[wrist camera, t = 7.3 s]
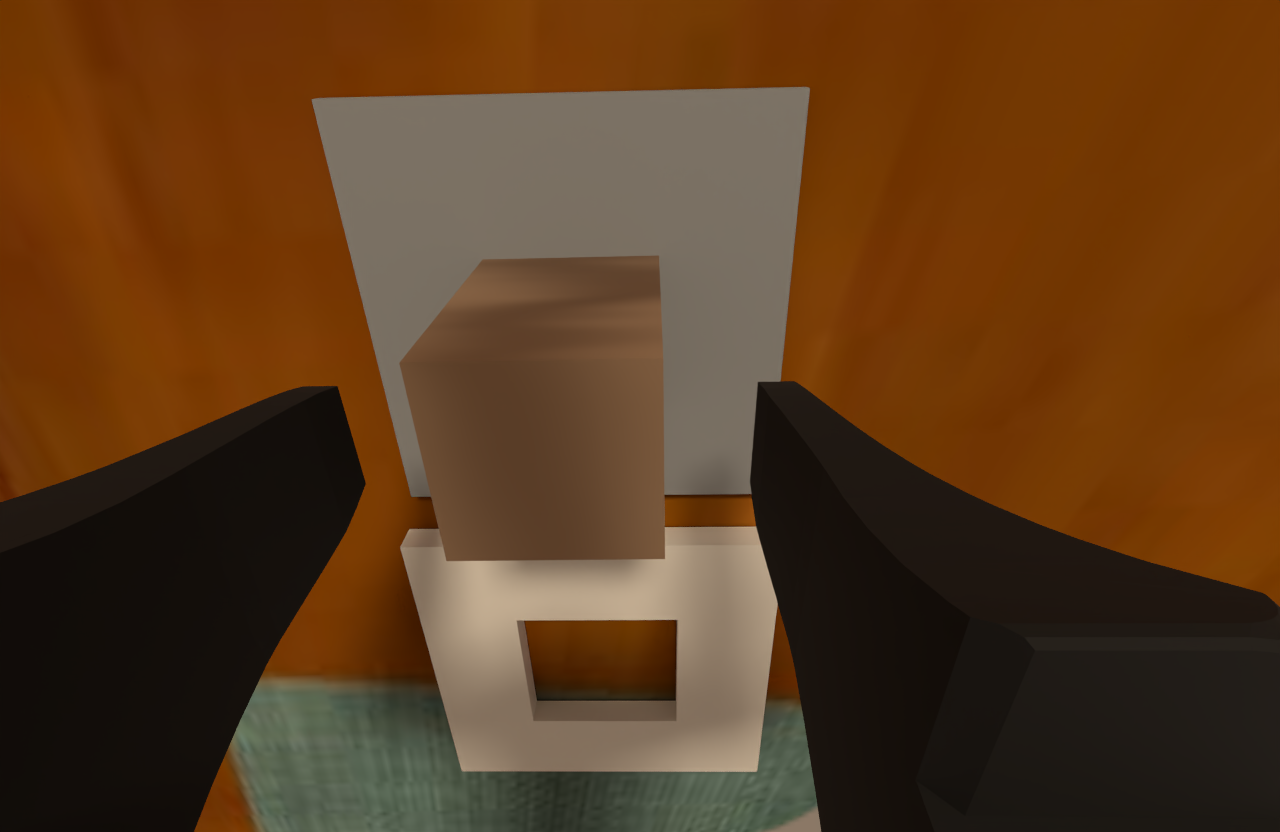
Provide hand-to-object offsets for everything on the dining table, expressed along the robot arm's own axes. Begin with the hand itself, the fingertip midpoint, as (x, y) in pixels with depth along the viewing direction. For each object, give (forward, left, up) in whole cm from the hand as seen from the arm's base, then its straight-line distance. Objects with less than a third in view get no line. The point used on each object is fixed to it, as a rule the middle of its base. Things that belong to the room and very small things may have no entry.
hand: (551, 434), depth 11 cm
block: (0, 0, -5) cm, 5 cm away
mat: (0, 0, -5) cm, 5 cm away
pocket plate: (0, +12, -5) cm, 13 cm away
